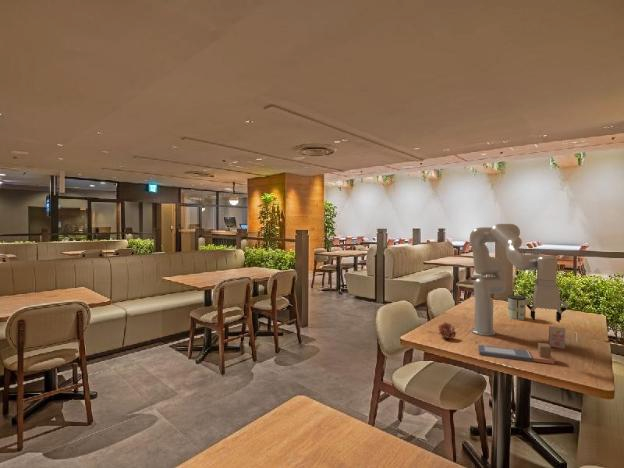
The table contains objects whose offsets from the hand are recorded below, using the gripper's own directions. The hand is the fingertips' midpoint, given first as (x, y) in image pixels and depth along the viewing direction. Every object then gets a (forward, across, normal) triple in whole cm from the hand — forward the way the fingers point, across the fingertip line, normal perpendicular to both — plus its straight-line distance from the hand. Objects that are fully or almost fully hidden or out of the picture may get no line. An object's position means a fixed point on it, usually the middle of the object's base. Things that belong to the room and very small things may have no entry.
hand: (545, 320), depth 165 cm
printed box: (+19, +10, +22) cm, 30 cm away
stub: (+18, -1, 0) cm, 18 cm away
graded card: (+19, +19, +45) cm, 52 cm away
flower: (+18, -42, +14) cm, 48 cm away
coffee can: (+18, -1, +75) cm, 77 cm away
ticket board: (+18, -16, 0) cm, 25 cm away
